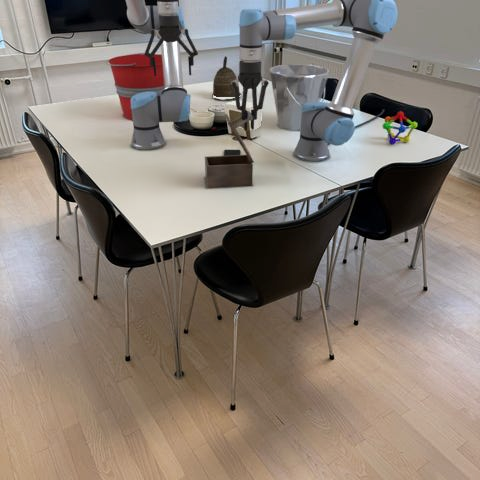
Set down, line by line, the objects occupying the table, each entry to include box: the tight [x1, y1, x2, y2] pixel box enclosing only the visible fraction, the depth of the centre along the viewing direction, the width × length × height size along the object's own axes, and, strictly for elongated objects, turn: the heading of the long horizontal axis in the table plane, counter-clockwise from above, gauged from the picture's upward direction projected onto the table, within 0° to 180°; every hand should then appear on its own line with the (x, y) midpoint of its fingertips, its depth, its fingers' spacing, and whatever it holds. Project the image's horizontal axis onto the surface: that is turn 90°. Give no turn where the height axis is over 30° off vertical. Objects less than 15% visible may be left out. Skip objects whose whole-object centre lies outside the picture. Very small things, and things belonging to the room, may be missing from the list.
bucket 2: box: [269, 63, 330, 131], centre depth 226 cm, size 30×30×28 cm
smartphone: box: [223, 149, 241, 156], centre depth 194 cm, size 7×1×15 cm
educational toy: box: [382, 110, 418, 145], centre depth 207 cm, size 16×13×15 cm
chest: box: [204, 154, 254, 189], centre depth 170 cm, size 17×10×9 cm, turn 98°
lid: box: [224, 110, 255, 164], centre depth 163 cm, size 18×10×9 cm
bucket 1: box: [105, 52, 164, 121], centre depth 241 cm, size 35×35×30 cm
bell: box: [212, 56, 242, 97], centre depth 278 cm, size 19×26×20 cm
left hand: (172, 75), depth 174 cm, fingers open, 13 cm apart
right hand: (248, 128), depth 162 cm, fingers closed on lid, 2 cm apart
